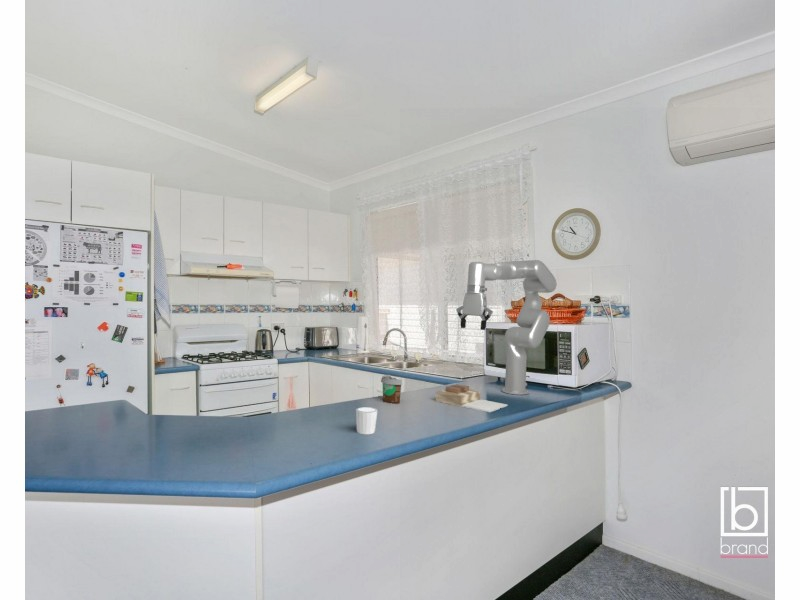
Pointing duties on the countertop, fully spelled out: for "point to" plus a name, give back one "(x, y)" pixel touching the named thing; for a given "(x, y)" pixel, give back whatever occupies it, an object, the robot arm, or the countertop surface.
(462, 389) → the walnut tile
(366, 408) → the white fluted cup
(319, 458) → the countertop surface
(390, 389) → the food container
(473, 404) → the white folded cloth
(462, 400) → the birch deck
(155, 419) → the countertop surface
